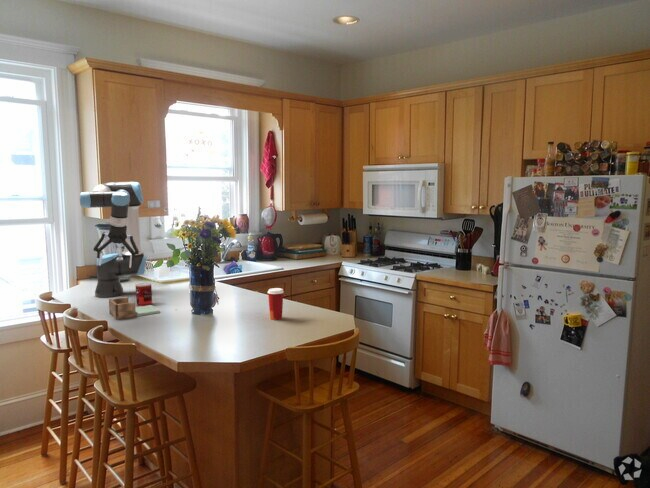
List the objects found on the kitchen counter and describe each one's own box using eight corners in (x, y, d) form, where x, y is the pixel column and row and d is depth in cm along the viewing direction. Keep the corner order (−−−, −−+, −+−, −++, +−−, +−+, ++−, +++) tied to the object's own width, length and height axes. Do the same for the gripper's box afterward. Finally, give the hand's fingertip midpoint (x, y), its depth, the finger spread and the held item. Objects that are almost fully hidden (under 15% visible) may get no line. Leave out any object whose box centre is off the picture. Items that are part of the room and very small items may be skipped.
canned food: (138, 302, 267) (137, 282, 265) (153, 302, 267) (153, 282, 266) (134, 306, 259) (133, 285, 258) (150, 305, 260) (149, 285, 258)
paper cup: (286, 317, 238) (286, 288, 236) (280, 321, 231) (279, 291, 229) (271, 315, 241) (271, 287, 239) (264, 319, 233) (264, 290, 232)
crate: (151, 307, 257) (150, 293, 256) (159, 312, 246) (159, 299, 245) (109, 313, 246) (108, 299, 245) (116, 319, 234) (115, 305, 233)
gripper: (88, 224, 229) (86, 266, 235) (145, 229, 237) (142, 270, 244) (90, 219, 235) (88, 260, 242) (146, 224, 244) (142, 264, 250)
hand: (115, 265), depth 243 cm, fingers open, 13 cm apart
